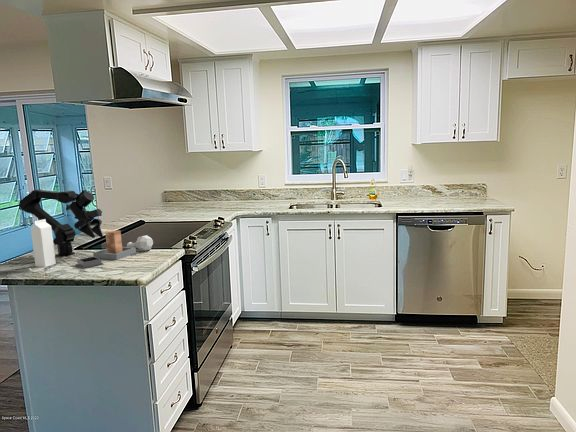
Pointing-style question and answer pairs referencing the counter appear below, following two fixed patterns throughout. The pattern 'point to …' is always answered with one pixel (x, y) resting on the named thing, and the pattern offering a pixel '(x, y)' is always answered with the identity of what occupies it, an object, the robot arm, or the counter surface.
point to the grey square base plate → (88, 262)
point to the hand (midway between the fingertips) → (98, 237)
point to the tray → (104, 255)
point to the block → (113, 241)
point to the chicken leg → (142, 243)
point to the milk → (43, 244)
